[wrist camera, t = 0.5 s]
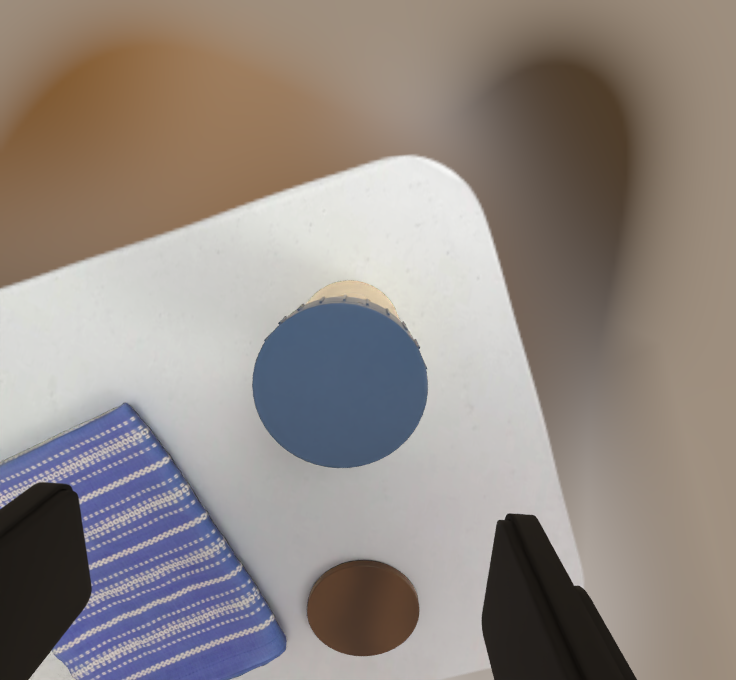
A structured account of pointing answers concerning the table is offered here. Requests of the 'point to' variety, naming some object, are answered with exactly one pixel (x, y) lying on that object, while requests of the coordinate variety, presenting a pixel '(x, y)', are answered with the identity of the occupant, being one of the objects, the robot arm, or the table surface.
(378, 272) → the table surface
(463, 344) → the table surface
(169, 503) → the dish towel
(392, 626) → the coaster
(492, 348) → the table surface
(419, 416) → the lid
